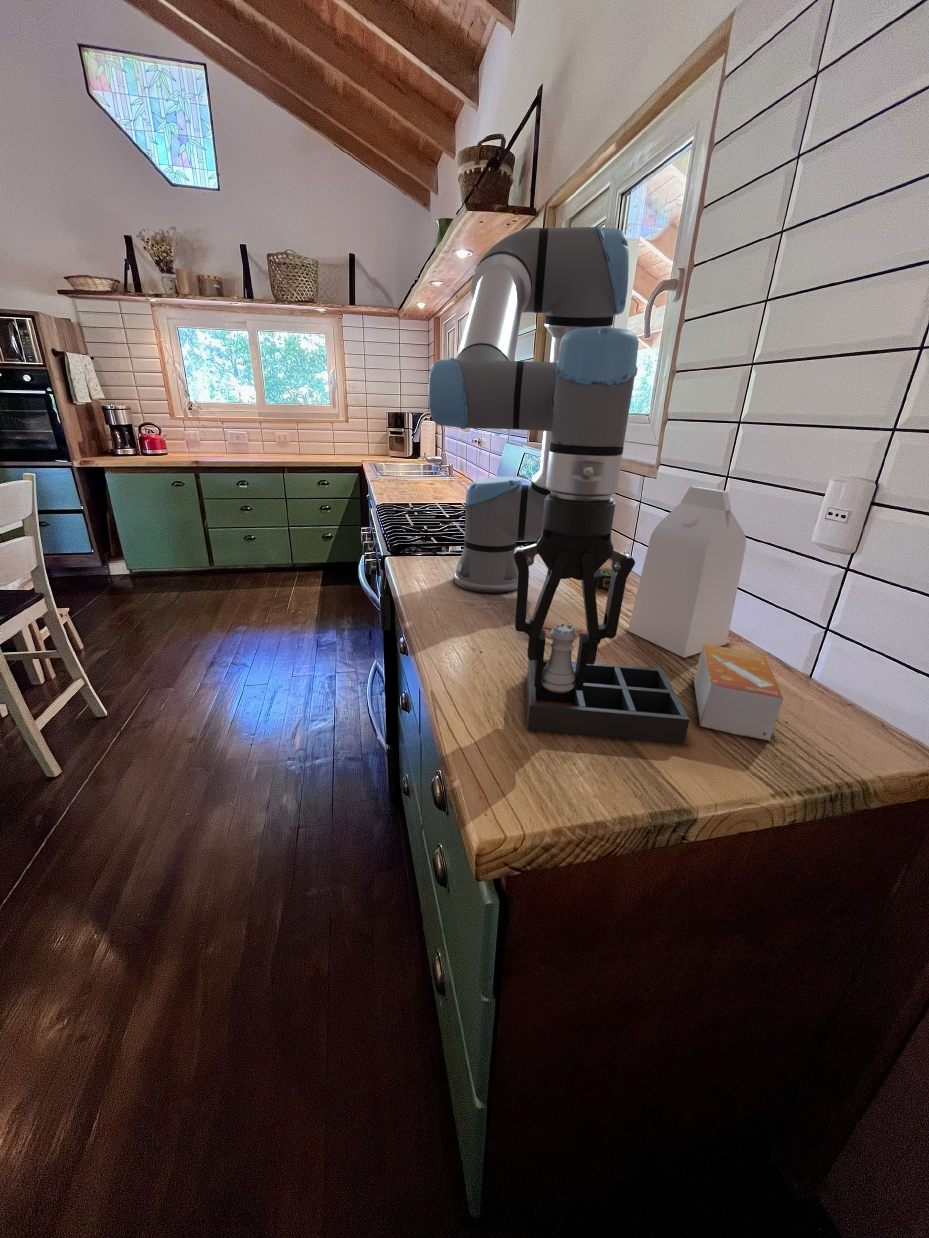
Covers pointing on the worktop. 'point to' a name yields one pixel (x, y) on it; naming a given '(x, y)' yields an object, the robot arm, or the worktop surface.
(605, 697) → the grid tray
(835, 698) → the worktop surface
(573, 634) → the rook chess piece
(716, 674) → the small box
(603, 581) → the tape measure
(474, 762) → the worktop surface
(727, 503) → the milk
